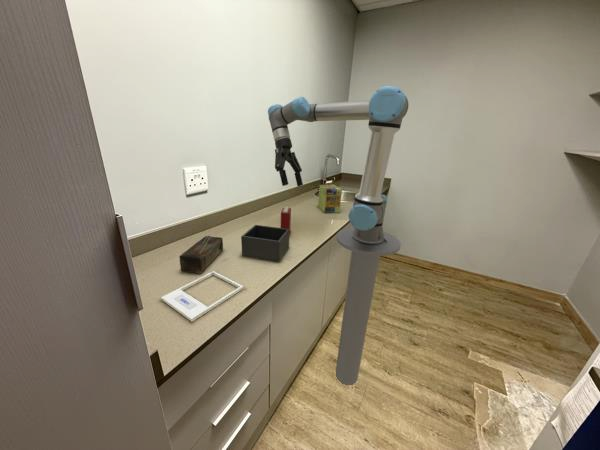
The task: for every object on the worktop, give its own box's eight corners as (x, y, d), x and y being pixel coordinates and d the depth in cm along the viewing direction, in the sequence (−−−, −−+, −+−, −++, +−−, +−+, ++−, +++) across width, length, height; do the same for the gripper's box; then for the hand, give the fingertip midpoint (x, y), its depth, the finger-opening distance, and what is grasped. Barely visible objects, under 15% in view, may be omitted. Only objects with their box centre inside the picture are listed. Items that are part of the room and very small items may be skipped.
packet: (290, 231, 124) (291, 206, 119) (288, 237, 116) (289, 211, 111) (282, 230, 124) (283, 206, 119) (280, 237, 116) (280, 211, 111)
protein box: (324, 213, 154) (326, 189, 149) (317, 206, 168) (319, 184, 163) (339, 212, 156) (342, 189, 151) (332, 206, 171) (334, 184, 165)
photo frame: (161, 296, 70) (213, 270, 84) (161, 299, 70) (213, 273, 84) (191, 318, 62) (243, 285, 76) (191, 321, 62) (243, 288, 77)
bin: (288, 247, 106) (289, 229, 103) (279, 262, 93) (279, 241, 90) (255, 242, 109) (255, 224, 106) (242, 256, 96) (241, 236, 93)
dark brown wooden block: (224, 250, 101) (223, 235, 98) (201, 275, 83) (199, 258, 81) (206, 248, 102) (204, 234, 99) (179, 272, 84) (177, 255, 81)
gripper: (289, 147, 124) (299, 187, 124) (259, 138, 102) (271, 187, 102) (302, 142, 120) (312, 183, 120) (273, 131, 98) (285, 182, 99)
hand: (293, 185), depth 111 cm, fingers open, 13 cm apart
